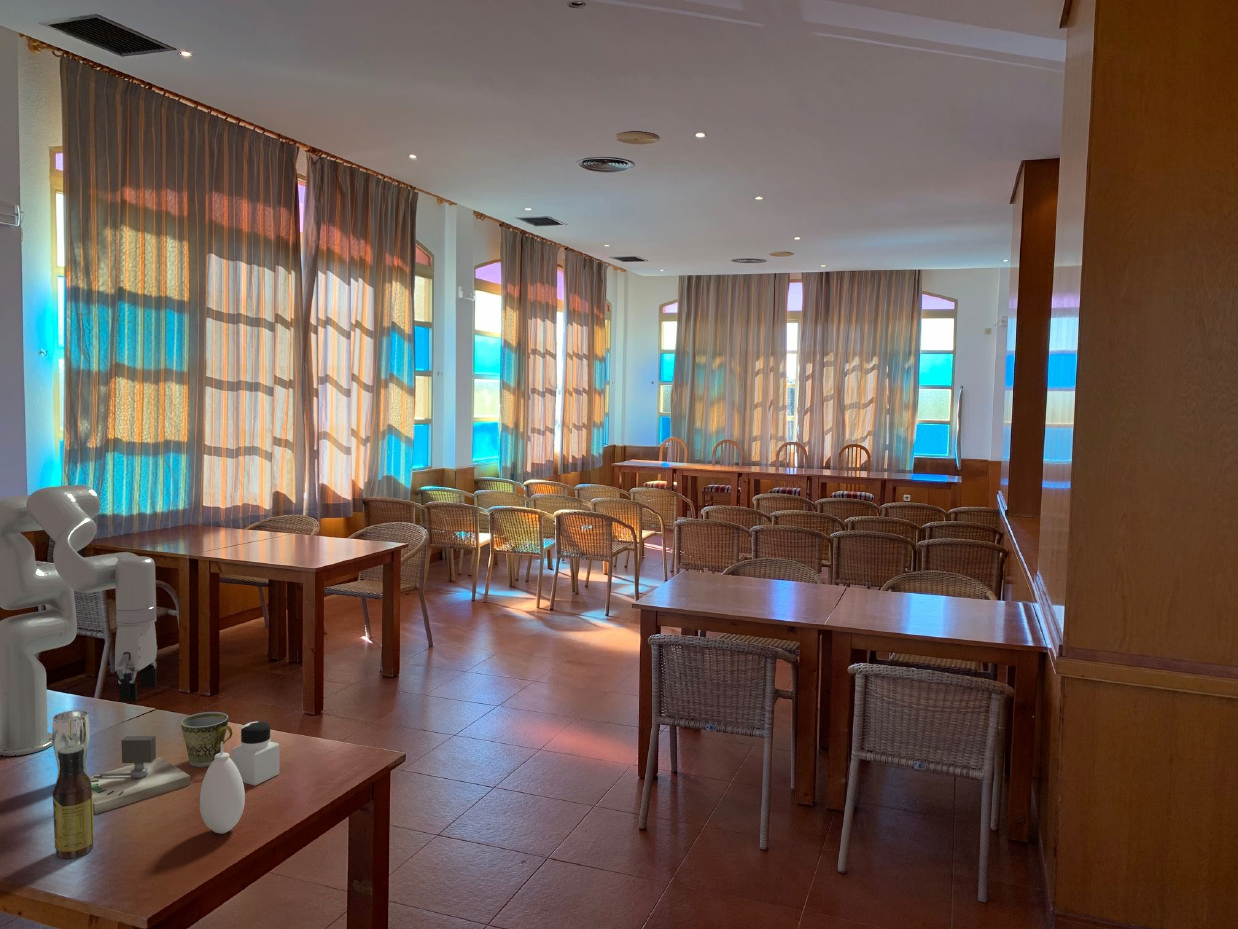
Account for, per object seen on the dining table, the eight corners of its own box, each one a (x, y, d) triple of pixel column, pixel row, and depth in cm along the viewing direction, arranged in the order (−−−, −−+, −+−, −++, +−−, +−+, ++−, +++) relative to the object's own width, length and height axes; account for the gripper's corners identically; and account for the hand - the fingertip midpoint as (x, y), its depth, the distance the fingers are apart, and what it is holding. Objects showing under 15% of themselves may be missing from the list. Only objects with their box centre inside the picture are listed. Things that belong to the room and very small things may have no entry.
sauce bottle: (66, 844, 170) (63, 740, 169) (100, 843, 171) (98, 740, 169) (47, 862, 164) (44, 754, 162) (83, 861, 164) (80, 754, 163)
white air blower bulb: (227, 818, 182) (226, 730, 180) (253, 828, 178) (252, 738, 176) (191, 834, 175) (190, 743, 174) (217, 845, 171) (216, 752, 170)
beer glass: (73, 791, 193) (71, 722, 192) (45, 787, 194) (43, 719, 193) (98, 778, 199) (97, 711, 198) (71, 774, 201) (69, 708, 200)
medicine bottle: (280, 774, 203) (279, 722, 202) (255, 786, 197) (254, 732, 196) (256, 768, 206) (256, 716, 205) (231, 780, 200) (230, 726, 199)
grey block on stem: (104, 772, 197) (103, 736, 196) (156, 772, 198) (156, 735, 197) (96, 779, 194) (96, 741, 193) (150, 778, 194) (149, 740, 194)
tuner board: (67, 792, 192) (67, 782, 192) (159, 765, 206) (159, 756, 206) (95, 814, 182) (95, 803, 182) (190, 784, 197) (190, 774, 197)
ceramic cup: (171, 765, 207) (170, 723, 206) (206, 750, 216) (205, 709, 215) (214, 775, 202) (214, 731, 201) (248, 759, 211) (248, 717, 210)
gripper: (136, 606, 201) (138, 682, 203) (98, 625, 184) (101, 708, 185) (171, 606, 202) (173, 681, 203) (137, 624, 185) (139, 707, 186)
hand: (138, 694), depth 194 cm, fingers open, 9 cm apart
